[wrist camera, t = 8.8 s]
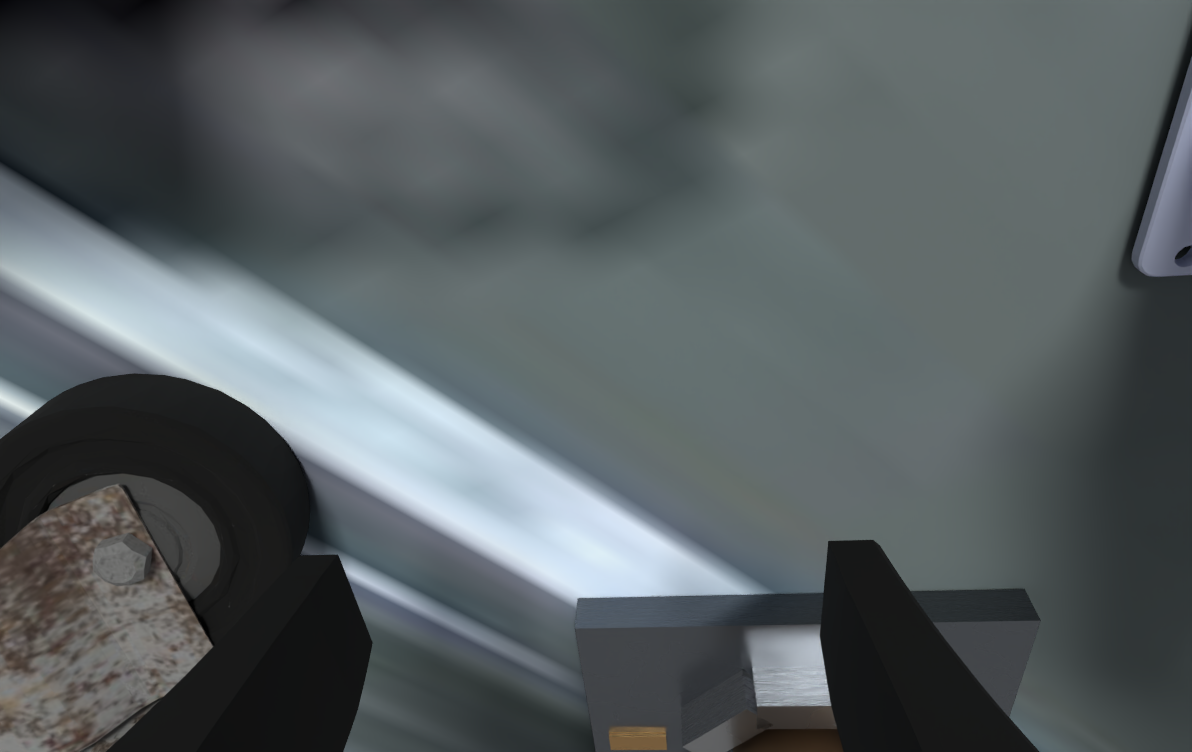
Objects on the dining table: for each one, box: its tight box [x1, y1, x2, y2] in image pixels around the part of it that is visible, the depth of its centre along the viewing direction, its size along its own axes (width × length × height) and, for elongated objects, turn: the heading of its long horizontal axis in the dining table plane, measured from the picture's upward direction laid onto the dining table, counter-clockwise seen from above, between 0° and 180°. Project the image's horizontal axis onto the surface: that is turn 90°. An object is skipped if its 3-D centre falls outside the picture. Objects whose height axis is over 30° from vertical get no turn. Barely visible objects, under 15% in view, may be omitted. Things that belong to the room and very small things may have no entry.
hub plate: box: [575, 589, 1041, 752], centre depth 27 cm, size 14×12×3 cm
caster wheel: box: [0, 374, 310, 752], centre depth 22 cm, size 7×11×10 cm
